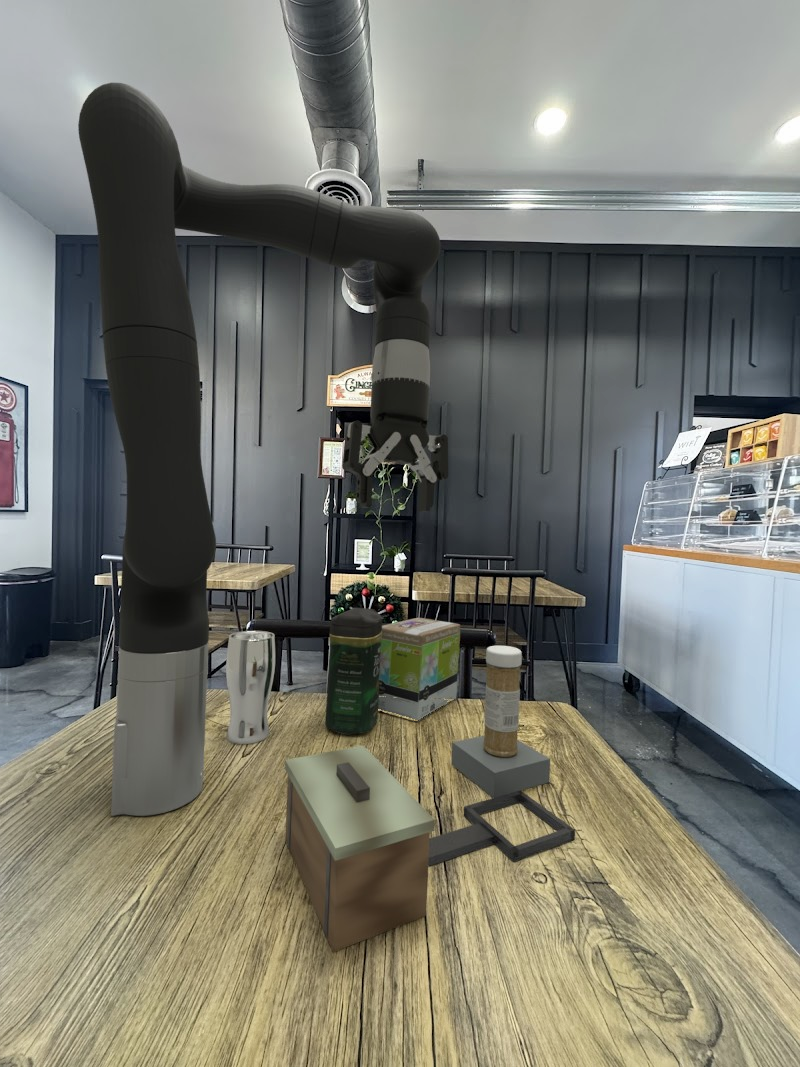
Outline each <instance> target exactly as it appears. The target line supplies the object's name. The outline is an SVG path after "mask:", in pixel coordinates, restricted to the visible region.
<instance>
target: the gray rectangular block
mask: <svg viewBox="0 0 800 1067" xmlns="http://www.w3.org/2000/svg"><path fill="white" fill-rule="evenodd" d="M483 744H484V735H481V736H476V737H471V738H466V739H461V740H456V741H452V742H451V757H450V758H451V760H450V762H451V763H450V764H451V766H453V768H455V769H456V770H458V771H459V772H460V773H462V775H464V776H466V777H467V778H468V779H469V780H470V781H472V782H473V783H474V784H475V785H477V786H478V788H481V789H482V790H483V792H485V793H486V794H488V795H489V796H490V797H491V798H496V797H499V796H503V795H506V794H510V793H513V792H517V791H520V790H521V791H524V790H528V789H532V788H534V787H537V786H541V785H545V784H548V783H550V781H551V780H550V777H551V775H550V774H551V758H550V757H548V756H547V755H544V754H543V753H541V752H539V751H538V750H536V749H534V748H532V747H531V746H529V745H527V744H526V743H524V742H523V741H520V740H519V739H517V747H518V752H517V753H516V754H515V755H513V756H510V757H499V756H495V755H492V754H490V753H488V752H487V751H486V750H485V749H484V748H483Z"/></svg>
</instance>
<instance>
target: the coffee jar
mask: <svg viewBox="0 0 800 1067" xmlns="http://www.w3.org/2000/svg"><path fill="white" fill-rule="evenodd" d="M382 626H383V617H382V615H381V614H380V613H378V611H376V610H375V609H374V608H363V607H352V608H351V609H349V610H346V611H344V612H342V613H340V614H338V615H334V616H333V617H331V620H330V627H329V660H328V665H329V666H328V677H327V678H328V679H327V694H326V703H325V704H326V706H325V716H324V717H325V721H324V722H325V723H324V724H325V726H326V728H327V729H328V730H331V731H334V732H335V733H337V734H340V733H341V734H340V735H346V734H347V735H348V736H349V735H353V734H366V733H368V732H369V731H370V730H371V729H372V728H373V727H374V726H375V724H376V722H377V720H378V719H379V711H378V703H379V673H380V652H381V638H382Z"/></svg>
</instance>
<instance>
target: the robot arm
mask: <svg viewBox="0 0 800 1067" xmlns="http://www.w3.org/2000/svg"><path fill="white" fill-rule="evenodd" d="M77 124H78V127H77V128H78V131H77V132H78V138H79V142H80V147H81V151H82V156H83V160H84V165H85V170H86V174H87V178H88V183H89V190H90V193H91V198H92V204H93V209H94V215H95V221H96V229H97V231H96V232H97V243H98V245H97V246H98V249H97V250H98V278H99V280H98V281H99V295H100V296H99V297H100V309H101V326H102V327H101V328H102V329H101V330H102V343H103V352H104V362H105V363H104V364H105V372H106V378H107V384H108V390H109V396H110V400H111V405H112V409H113V413H114V417H115V421H116V425H117V428H118V432H119V436H120V440H121V442H122V443H121V444H122V447H123V453H124V458H125V469H126V510H125V512H126V516H125V530H124V531H125V532H124V537H123V541H122V561H121V562H122V563H121V586H120V587H121V588H120V590H121V591H120V605H119V606H120V607H119V608H120V610H119V633H118V634H119V638H118V641H119V642H118V666H117V667H118V668H117V670H118V671H117V672H118V673H117V689H116V691H117V693H116V715H115V716H116V717H115V721H114V730H113V731H114V732H113V756H112V758H113V759H112V777H111V778H112V781H111V804H110V807H111V808H110V815H111V816H113V817H114V816H120V815H129V816H138V817H139V816H143V817H145V816H153V815H158V814H159V815H160V814H163V813H168V812H171V811H174V810H176V809H179V808H181V807H183V806H185V805H187V804H188V803H191V802H192V801H193V800H194V799H196V798H197V796H199V794H200V793H201V791H202V790H203V784H204V782H203V781H204V773H205V771H204V769H205V766H204V765H205V764H204V763H205V762H204V761H205V759H204V758H205V741H206V738H205V737H206V736H205V735H206V714H207V688H208V687H207V686H208V666H209V665H208V663H209V662H208V661H209V644H210V643H209V642H210V641H209V638H210V618H209V611H208V601H207V599H208V598H207V590H208V589H207V586H208V585H207V584H208V570H209V569H210V567H211V565H212V563H213V560H214V559H215V555H216V550H217V538H216V533H215V528H214V523H213V519H212V516H211V511H210V505H209V504H210V503H209V500H208V494H207V490H206V484H205V479H204V474H203V473H204V471H203V465H202V454H201V437H202V436H201V435H202V433H201V432H202V410H201V409H202V408H201V407H202V404H201V402H202V401H201V378H200V376H201V375H200V363H199V362H200V361H199V351H198V341H197V334H196V326H195V321H194V315H193V309H192V305H191V304H192V303H191V300H190V295H189V290H188V287H187V282H186V278H185V275H184V270H183V269H184V268H183V265H182V263H181V262H182V261H181V258H180V254H179V250H178V249H179V248H178V242H177V236H176V235H177V234H176V230H182V231H183V230H185V231H188V232H189V231H191V232H198V233H203V234H207V235H208V234H209V235H215V236H220V237H226V238H230V239H236V240H240V241H241V240H243V241H246V242H252V243H255V244H260V245H265V246H268V247H272V248H276V249H280V250H283V251H287V252H289V253H293V254H296V255H298V256H302V257H304V258H309V259H311V260H313V261H316V262H319V263H323V264H326V265H329V266H332V267H336V268H339V269H350V268H352V267H354V266H355V265H356V264H357V263H358V262H361V261H368V262H369V261H370V262H374V266H373V273H372V274H373V275H372V280H373V281H372V284H373V286H372V287H373V294H374V304H375V309H376V321H375V340H374V347H375V348H374V355H373V360H372V369H371V375H370V380H371V390H370V423H369V425H367V424H366V425H365V424H363V423H362V422H361V421H360V420H358V419H357V420H355V421H352V422H350V423H349V424H347V425H346V426H345V436H344V443H343V445H344V446H343V453H342V466H341V467H342V469H343V470H344V472H348V473H349V472H350V473H351V474H353V475H354V476H355V478H356V481H355V482H356V483H355V484H356V486H355V490H356V491H355V500H356V503H358V504H359V508H363V509H364V508H365V509H367V508H371V507H372V502H373V498H372V497H373V480H374V479H373V477H371V475H372V474H373V473H374V471H375V470H376V469H377V467H378V466H379V465H380V464H382V462H383V463H386V464H387V463H388V464H389V463H396V464H398V465H408V467H409V468H410V470H411V471H412V472H414V473H415V475H416V477H417V478H418V480H419V482H420V483H418V489H417V490H418V492H417V493H418V494H417V511H418V512H422V513H428V512H430V510H431V508H433V506H434V503H435V502H434V500H435V484H436V483H437V482H439V481H443V480H446V479H448V477H449V438H448V437H449V436H447V435H446V434H444V433H443V434H439V435H431V434H429V433H428V430H427V425H428V422H429V421H428V420H429V414H430V413H429V409H430V387H431V386H430V384H431V382H430V381H431V361H430V334H431V332H430V330H431V317H430V310H429V309H428V307H427V305H426V304H425V303H424V302H423V301H422V292H423V285H424V281H425V280H426V278H427V277H428V276H429V274H430V273H431V271H432V270H433V268H434V267H435V265H436V264H437V262H438V259H439V257H440V254H441V246H442V245H441V239H440V237H439V234H438V231H437V229H436V227H434V226H433V224H432V223H431V222H430V221H428V219H426V218H425V217H424V216H422V215H420V214H419V213H417V212H414V211H411V210H407V209H402V208H394V207H384V206H376V205H375V206H373V205H353V204H351V203H348V202H346V201H344V200H342V199H338V198H335V197H334V196H330V195H327V194H325V193H322V192H319V191H317V190H313V189H311V188H307V187H304V186H300V185H294V184H283V183H271V184H270V183H268V184H237V183H229V182H225V181H220V180H218V179H217V180H216V179H213V178H210V177H208V176H205V175H203V174H201V173H199V172H196V171H194V170H193V169H191V168H189V167H187V166H185V165H183V162H182V157H181V153H180V150H179V145H178V141H177V138H176V136H175V133H174V131H173V129H172V127H171V125H170V123H169V121H168V120H167V118H166V116H165V115H164V113H163V111H162V110H161V109H160V108H159V107H158V106H157V105H156V103H155V102H154V101H153V100H152V99H151V98H150V97H149V96H147V95H146V94H145V93H143V91H141V90H139V89H137V88H135V87H134V86H131V85H130V84H128V83H123V82H109V83H104V84H101V85H99V86H98V87H96V88H94V90H92V91H91V93H89V95H87V97H86V98H85V100H84V101H83V104H82V106H81V110H80V112H79V119H78V123H77ZM366 436H367V438H368V440H369V442H370V444H371V445H372V448H371V449H370V450H369V452H368V453H367V455H366V456H365V457H364V458H363V461H362V462H361V463H360V455H361V444H362V443H361V442H362V441H364V440H365V439H366ZM426 446H428V448H427V449H428V450H429V451H430V457H431V458H429V456H428V455H427V453H426V451H425V448H426Z"/></svg>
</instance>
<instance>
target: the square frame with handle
mask: <svg viewBox="0 0 800 1067" xmlns="http://www.w3.org/2000/svg"><path fill="white" fill-rule="evenodd" d="M516 804H521V805H522V806H523V807H525V808H526V809H528V811H530V812H532V813H533V814H534V815H536V816H537V817H538V818H539V819H541V820H542V821H543V822H545V823H546V824H547V825H549V826H550V827H552V828H553V829H554V830H556V831H555V832H551V833H548V834H544V835H542V836H540V837H537V838H535V839H534V838H533V839H531V840H529V841H526V842H523V843H519V844H516V845H514V844H513V843H512V842H511V841H510V840H508V839H507V838H506V837H505V836H504V835H503V834H501V833H500V832H499V831H498V830H497V829H496V828H495V827H494V826H493V825H491V823H489V822H488V821H487V820H486V819H485V818H483V817H482V815H483V814H486V813H490V812H493V811H496V810H500V809H502V808H506V807H511V806H513V805H516ZM463 816H464V817H465V818H466V819H467V820H468V821H469V822H470V823H471V825H469V826H466V827H462V828H459V829H456V830H452V831H450V832H447V833H442V834H439V835H436V836H433V837H429V862H428V867H431V866H434V865H438V864H439V863H442V862H445V861H449V860H451V859H455V858H458V857H460V856H461V857H462V856H463V855H466V854H469V853H472V852H475V851H477V850H481V849H483V848H487V847H489V846H492V845H495V846H496V848H498V849H499V850H500V851H501V852H502V853H503V854H505V856H506V857H508V858H509V859H510V860H511V861H512V862H513V863H514V862H518V861H520V860H523V859H526V858H529V857H531V856H534V855H537V854H538V853H542V852H544V851H547V850H550V849H553V848H556V847H558V846H561V845H563V844H566V843H569V842H571V841H575V839H576V838H575V837H576V828H574V827H572V826H570V825H569V824H568V823H567V822H565V821H564V820H563V819H561V818H559V817H558V816H557V815H555V814H554V813H553V812H551V811H550V810H548V809H547V808H545V807H544V806H543V805H541V804H540V803H539V802H537V801H536V800H534V799H533V798H532V797H530V796H529V795H528V794H526V793H525V792H523V790H520V791H517V792H513V793H510V794H506V795H503V796H499V797H496V798H493V797H491V798H489V799H486V800H482V801H477V802H475V803H471V804H469V805H463Z"/></svg>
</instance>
